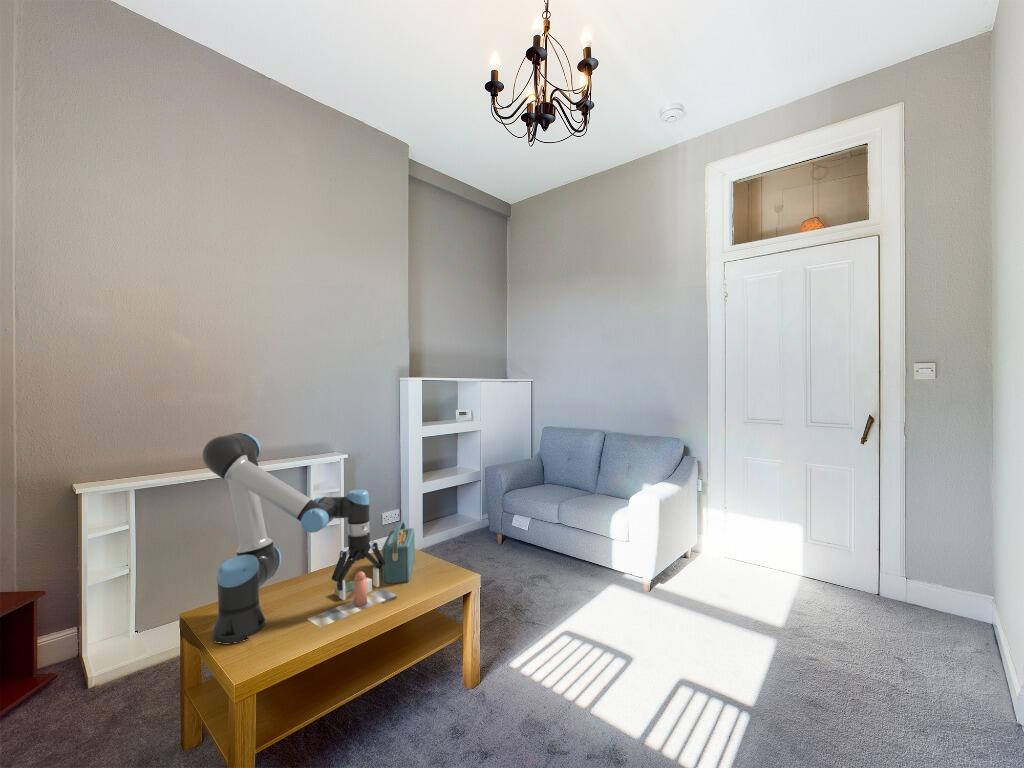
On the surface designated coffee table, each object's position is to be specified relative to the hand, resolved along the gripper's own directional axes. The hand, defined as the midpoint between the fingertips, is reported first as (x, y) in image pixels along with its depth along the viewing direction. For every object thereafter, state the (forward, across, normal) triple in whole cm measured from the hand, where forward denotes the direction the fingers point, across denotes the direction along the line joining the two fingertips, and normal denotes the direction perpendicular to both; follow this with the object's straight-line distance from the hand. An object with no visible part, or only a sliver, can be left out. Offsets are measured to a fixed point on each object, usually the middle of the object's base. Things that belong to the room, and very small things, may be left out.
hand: (359, 592), depth 169 cm
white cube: (+3, +6, +11) cm, 13 cm away
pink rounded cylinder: (+4, 0, 0) cm, 4 cm away
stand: (+6, +2, +11) cm, 12 cm away
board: (+5, -2, 0) cm, 6 cm away
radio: (+6, +29, +16) cm, 33 cm away
